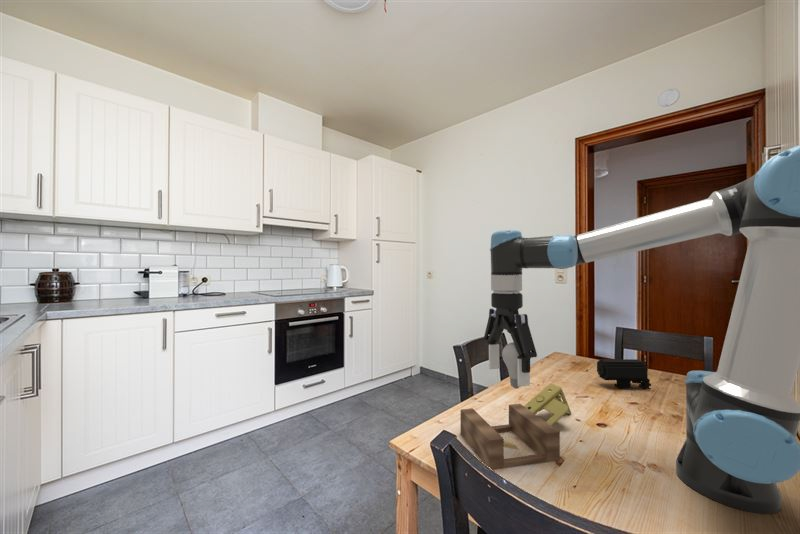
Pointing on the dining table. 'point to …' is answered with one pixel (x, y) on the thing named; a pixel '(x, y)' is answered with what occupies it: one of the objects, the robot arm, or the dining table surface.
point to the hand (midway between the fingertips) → (507, 376)
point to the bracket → (550, 403)
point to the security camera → (624, 372)
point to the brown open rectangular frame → (492, 444)
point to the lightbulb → (511, 362)
